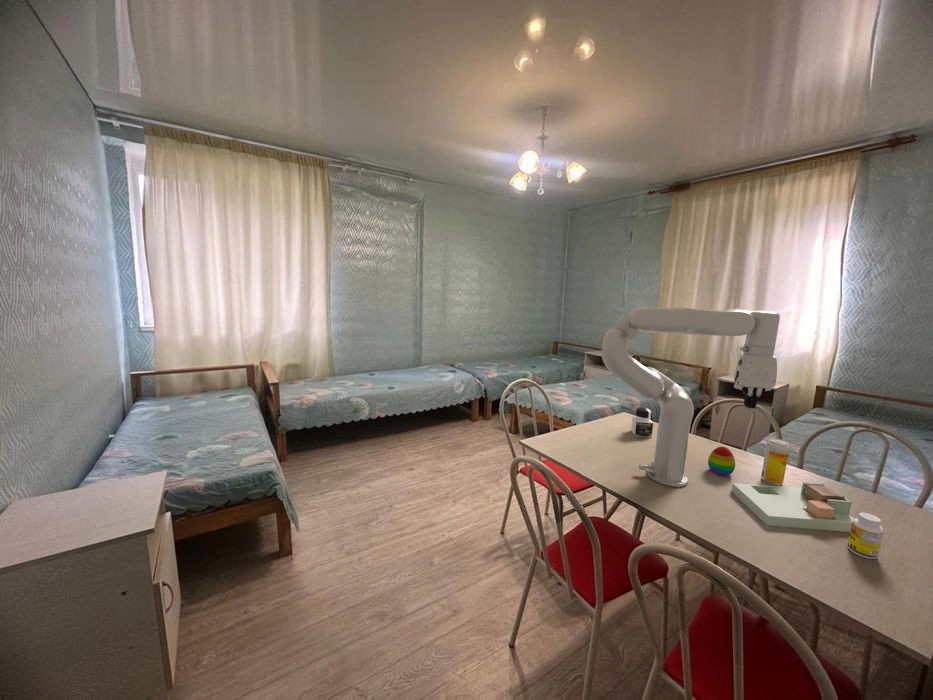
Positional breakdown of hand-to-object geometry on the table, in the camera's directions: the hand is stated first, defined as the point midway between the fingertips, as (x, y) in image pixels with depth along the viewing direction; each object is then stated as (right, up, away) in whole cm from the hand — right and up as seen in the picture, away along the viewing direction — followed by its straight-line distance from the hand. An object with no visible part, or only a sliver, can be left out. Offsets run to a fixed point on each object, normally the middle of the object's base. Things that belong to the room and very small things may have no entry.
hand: (749, 407), depth 123 cm
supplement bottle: (+12, -34, -23) cm, 43 cm away
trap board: (+8, -31, -6) cm, 32 cm away
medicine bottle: (-12, -20, +51) cm, 56 cm away
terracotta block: (+11, -32, -12) cm, 36 cm away
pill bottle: (+16, -28, +11) cm, 34 cm away
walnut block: (+17, -28, -7) cm, 34 cm away
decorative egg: (+2, -27, +17) cm, 32 cm away
